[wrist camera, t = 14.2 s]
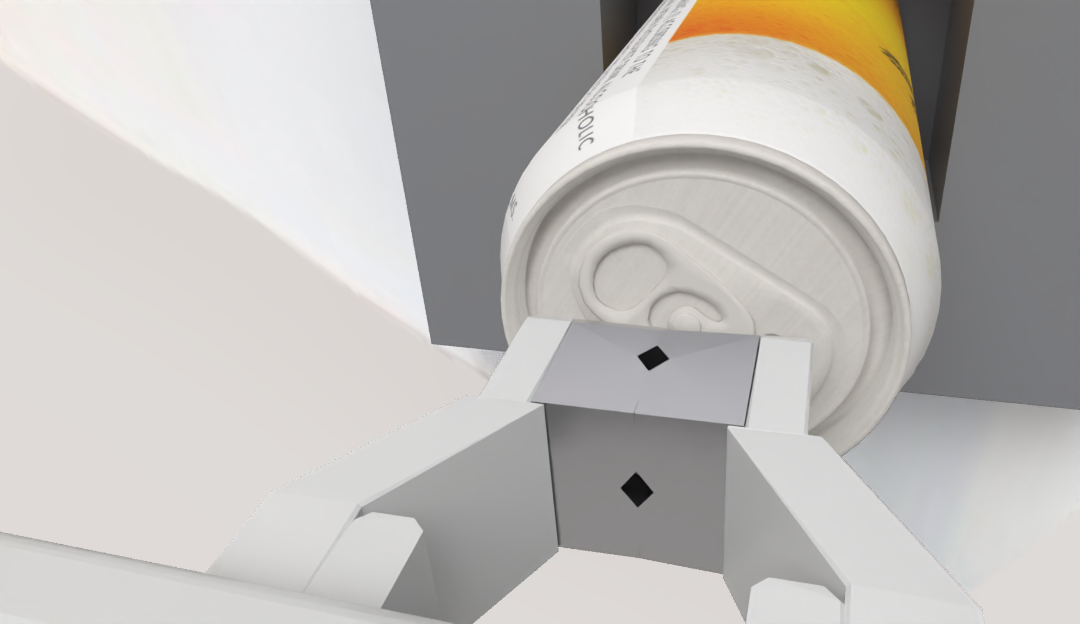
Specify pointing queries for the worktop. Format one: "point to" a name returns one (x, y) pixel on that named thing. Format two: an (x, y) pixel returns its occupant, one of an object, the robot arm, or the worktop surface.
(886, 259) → the beer can
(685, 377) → the robot arm
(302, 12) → the worktop surface
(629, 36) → the can dock
